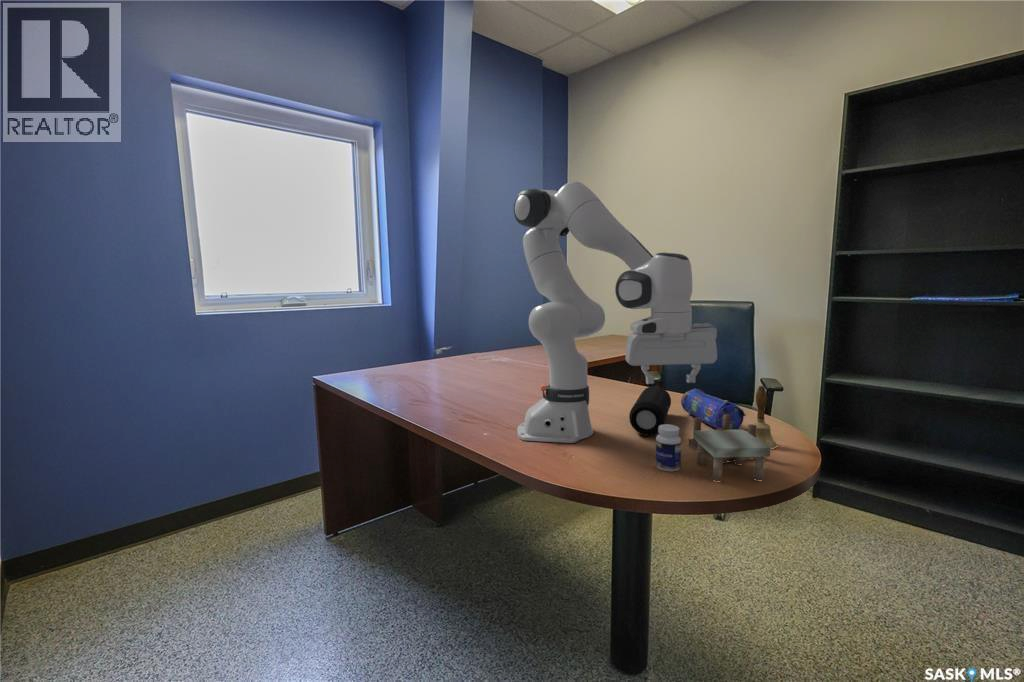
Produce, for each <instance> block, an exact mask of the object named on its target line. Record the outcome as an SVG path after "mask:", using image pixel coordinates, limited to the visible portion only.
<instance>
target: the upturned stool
mask: <svg viewBox="0 0 1024 682" xmlns="http://www.w3.org/2000/svg"><path fill="white" fill-rule="evenodd" d="M730 420H731V415H728V414H724V415H723V428H717V429H716V430H730ZM694 430H702V420H701V418H697V417H694V418H693V432H694ZM747 432H748V433H749V434H751V435H752V436H754V437H755V438H756V425H752V423H751V424H747ZM687 442H688V443H687V447H689V448H690V447H691V449H692V448H693V449H692V450H695V451H696V452H697V451H698V442H697V441H696V440H695V439H694V438H693V437H692V438H688V441H687ZM706 456H707V458H708V457H709V458H708V459H710V458H711V459H712V460H711V459H710V460H711V461H713V458H714V457H713V456H712V455H711V454H710V453H709V452H708V451H707V450H706ZM706 456H705V457H706ZM750 458H755V457H743V459H748V460H751V459H750ZM734 460H735V457H723V458H722V462H727V461H734ZM734 462H735V461H734ZM727 463H728V462H727Z"/></svg>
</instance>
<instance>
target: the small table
mask: <svg viewBox="0 0 1024 682" xmlns="http://www.w3.org/2000/svg"><path fill="white" fill-rule="evenodd" d="M693 431H694V432H693V435H692V439H693V438H694V439H695V440H696V441H697V442H698V452H697V455H696V457H697V459H696V460H697V462H696V465H698V464H699V465H698V466H701V465H704V466H706V450H707V451H708V452H709V453H710V454H711V455H712V456H713V457H714V458H713V460H712V462H713V463H712V481H713V480H715V481H721V480H722V479H723V478H722V477H723V463H722V458H723V457H735V461H734V464H735V463H736V464H735V465H737V464H743V465H744V460H743V457H755V459H754V463H753V480H754V479H756V480H763V481H764V467H765V466H764V463H765V457H767V458H770V457H771V450H770V449H771V448H770V447H769V446H767V445H766V444H764V443H763V442H761V441H760V440H758V439H757V438H755V437H754V436H752V435H751V434H749V433H748V431H746V430H745V429H737V430H717V429H701V430H694V429H693ZM722 481H723V480H722Z"/></svg>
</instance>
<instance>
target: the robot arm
mask: <svg viewBox="0 0 1024 682" xmlns="http://www.w3.org/2000/svg"><path fill="white" fill-rule="evenodd" d="M513 213H514V214H513V215H514V218H515V221H516V222H517V223H518V224H520V225H521V226H523V227H525V228H528V230H527V231H526V232H525V234H523V237H522V245H523V253H524V256H525V261H526V265H527V266H528V270H529V272H530V276H531V278H532V281H533V284H534V287H535V290H537V292H538V293H539V294H540V295H542V296H543V297H545V298H547V299H548V300H549V301H550V302H546V303H543V304H540V305H537V306H535V307H534V308H532V310H531V311H530V312H529V313H530V314H529V316H528V328H529V331H530V333H531V334H532V336H533V337H534V338H535V339H536V340H538V342H540V344H542V346H543V349H544V351H545V354H546V356H547V361H548V373H549V374H548V375H549V377H548V378H549V384H548V385H546V384H542V385H541V386H540V390H541V391H542V398H541V399H539V400H538V401H537V402H536V403H535V404H533V405H532V406H530V407H529V408H527V409H528V410H526V413H525V417H524V422H522V423H520V424H519V425H518V426H517V431H516V433H517V437H518V438H519V439H520V440H522V441H531V442H545V443H546V442H549V443H550V442H551V443H565V444H568V443H569V444H574V443H577V442H579V441H580V440H583V439H587V438H589V437H591V436H592V435H593V433H594V430H593V426H592V423H591V417H590V410H589V404H590V386H589V385H588V360H587V358H586V356H585V355H583V354H582V353H580V352H579V351H578V349H577V346H576V342H575V339H580V338H584V337H585V338H586V337H590V336H592V335H593V334H597V333H598V332H600V331H601V330H602V328H603V327H604V325H605V322H606V314H605V310H604V309H603V307H602V305H601V304H599V303H597V302H596V301H594V300H593V299H592V298H590V297H589V296H588V295H587V294H586V292H584V290H583V289H582V288H581V286H579V284H578V282H577V281H576V280H575V278H574V276H573V274H572V272H571V269H570V267H569V265H568V263H567V260H566V257H565V255H564V253H563V250H562V248H561V246H560V242H559V237H560V236H561V237H565V236H567V235H568V234H569V233H570V234H571V235H572V237H573V238H574V239H576V240H577V242H579V243H580V244H581V245H582V246H584V247H586V248H589V249H593V250H598V251H600V252H605V253H609V254H611V255H614V256H616V257H618V259H620V260H621V261H623V262H624V263H625V264H626V265H627V267H629V270H626V271H624V272H622V273H621V274H620V275H619V276H618V277H617V280H616V283H615V287H614V288H615V289H614V290H615V292H614V293H615V296H616V299H617V301H618V303H619V304H620V305H621V306H622V307H624V308H626V309H630V310H640V309H642V310H643V309H650V316H648V317H646V318H645V317H644V318H642V319H640V320H636V321H633V322H631V323H630V325H629V327H630V331H631V332H632V333H630V334H629V335H628V338H627V340H626V346H625V361H626V362H627V364H628V365H630V366H632V367H636V366H637V367H638V366H640V368H641V371H642V373H643V374H644V376H645V384H646V385H654V384H655V381H654V380H655V376H654V375H650V373H649V371H650V366H670V365H671V366H672V365H675V366H676V365H691V368H692V369H691V371H690V373H689V374H688V373H687V374H686V380H685V382H686V383H687V384H696V376H697V375H698V374H699V372H700V370H701V366H702V365H704V364H705V365H706V364H714V363H715V362H716V361H717V360H718V349H717V342H716V341H717V336H718V335H717V334H718V330H717V328H716V327H715V325H713V324H711V323H709V322H704V323H699V322H698V323H697V322H695V323H693V321H692V320H693V319H692V318H693V314H692V313H693V307H692V305H691V297H692V294H693V271H692V264H691V261H690V258H689V257H687V255H684V254H682V253H672V252H658V253H655V254H654V255H653V254H652V253H651V252H650V251H649V250H648V249H647V248H646V247H645V246H644V245H643V244H642V242H640V241H639V239H637V237H636V236H634V234H633V233H632V232H630V231H629V230H628V229H627V228H626V227H625V226H624V225H623V224H622V223H621V222H620V221H619V220H618V219H617V218H616V217H615V216H614V214H612V213H611V212H610V210H609V209H608V208H607V207H606V205H605V204H604V202H603V201H602V200H601V199H600V198H599V197H598V195H596V194H595V193H594V192H593V191H592V190H591V189H590V188H589V187H588V186H587V185H585V184H584V183H582V182H581V181H580V182H579V181H576V180H574V181H573V180H572V181H570V182H567V183H565V184H563V185H562V186H561V187H560V188H559V189H558V190H554V189H538V188H529V189H525V190H522V191H520V192H519V193H518V194H517V196H516V198H515V201H514V203H513ZM529 228H530V229H529Z"/></svg>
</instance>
